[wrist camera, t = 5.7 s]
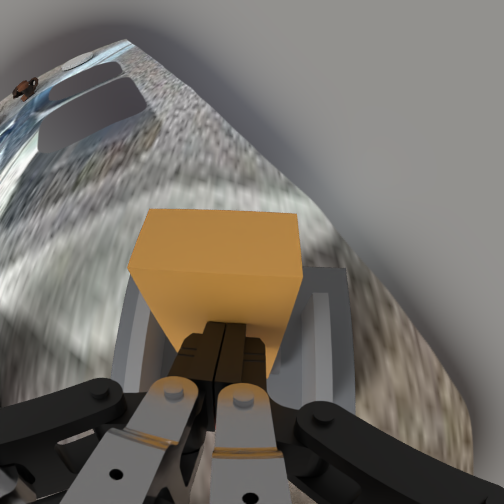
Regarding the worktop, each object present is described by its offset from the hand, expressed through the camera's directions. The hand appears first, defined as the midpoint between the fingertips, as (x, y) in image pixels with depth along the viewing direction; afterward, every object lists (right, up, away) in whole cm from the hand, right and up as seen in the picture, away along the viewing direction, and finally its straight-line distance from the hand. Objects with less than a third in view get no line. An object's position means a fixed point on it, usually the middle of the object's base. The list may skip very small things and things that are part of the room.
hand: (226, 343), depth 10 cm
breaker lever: (0, -4, +8) cm, 9 cm away
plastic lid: (-70, +80, +64) cm, 124 cm away
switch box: (-1, -6, +14) cm, 15 cm away
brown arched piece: (-82, +62, +53) cm, 116 cm away
